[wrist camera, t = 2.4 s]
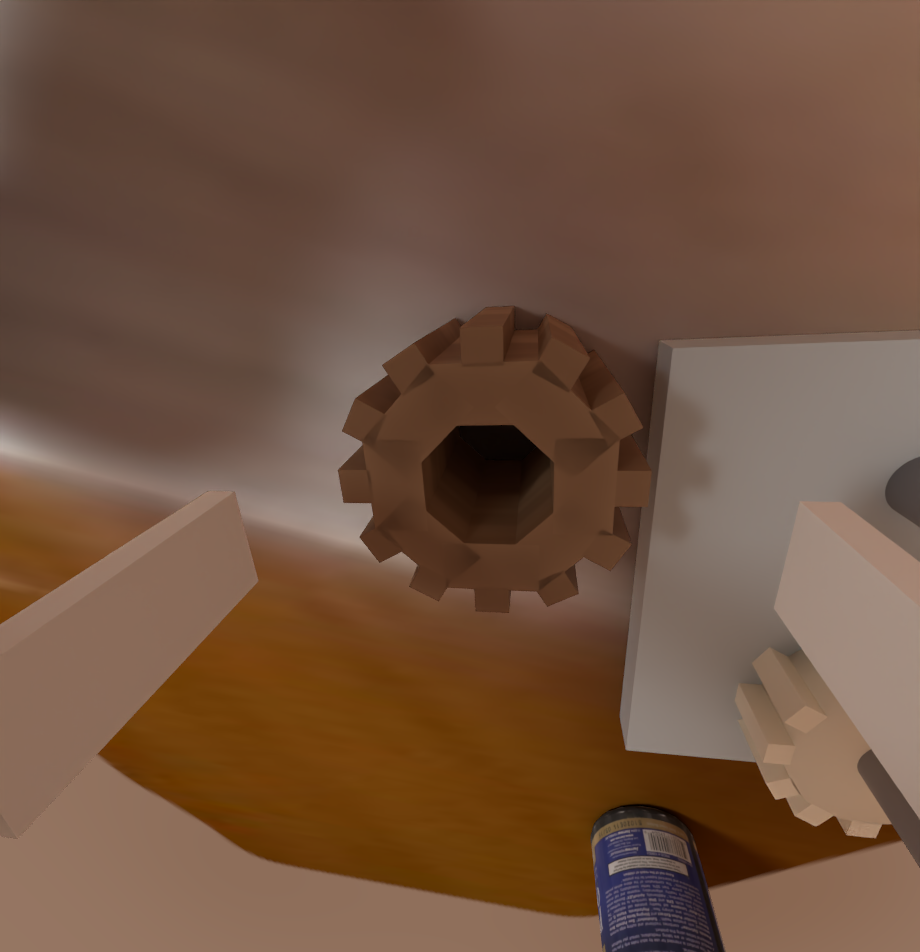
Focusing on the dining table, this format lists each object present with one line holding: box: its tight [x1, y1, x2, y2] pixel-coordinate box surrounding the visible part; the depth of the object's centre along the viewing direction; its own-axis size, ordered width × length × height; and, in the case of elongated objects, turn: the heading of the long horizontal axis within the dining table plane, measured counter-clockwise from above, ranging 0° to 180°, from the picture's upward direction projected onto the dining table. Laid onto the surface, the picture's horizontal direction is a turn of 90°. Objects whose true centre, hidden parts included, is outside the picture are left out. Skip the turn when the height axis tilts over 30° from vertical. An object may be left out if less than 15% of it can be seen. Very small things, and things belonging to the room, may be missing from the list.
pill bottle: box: [591, 806, 726, 952], centre depth 24 cm, size 6×6×11 cm
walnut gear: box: [338, 306, 652, 613], centre depth 17 cm, size 9×9×7 cm
